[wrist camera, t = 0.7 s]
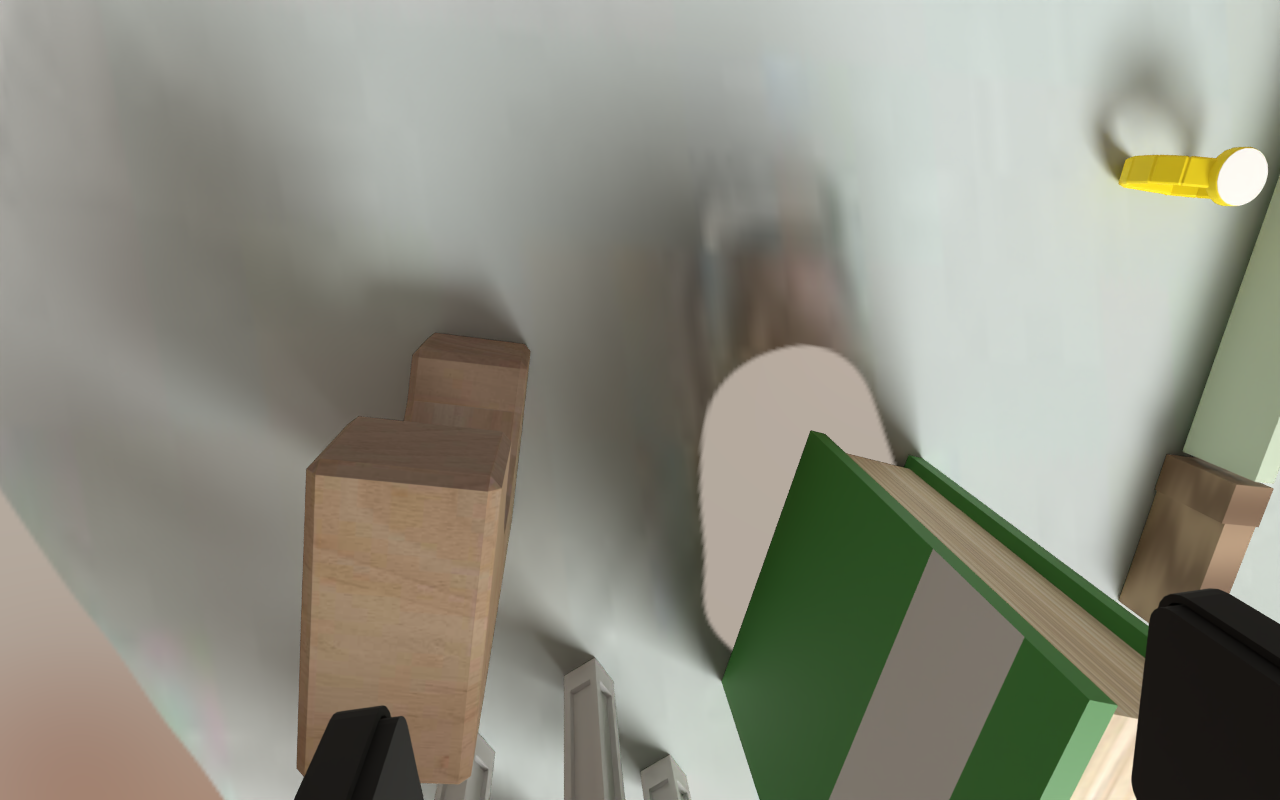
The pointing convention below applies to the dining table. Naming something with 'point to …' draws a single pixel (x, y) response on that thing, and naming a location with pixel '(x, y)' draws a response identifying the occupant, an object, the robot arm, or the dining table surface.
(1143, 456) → the dining table surface
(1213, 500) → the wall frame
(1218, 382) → the pale green flat bar
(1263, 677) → the robot arm
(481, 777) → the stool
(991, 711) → the hardback book
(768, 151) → the dining table surface
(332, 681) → the decorative block
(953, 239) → the dining table surface
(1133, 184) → the watch
